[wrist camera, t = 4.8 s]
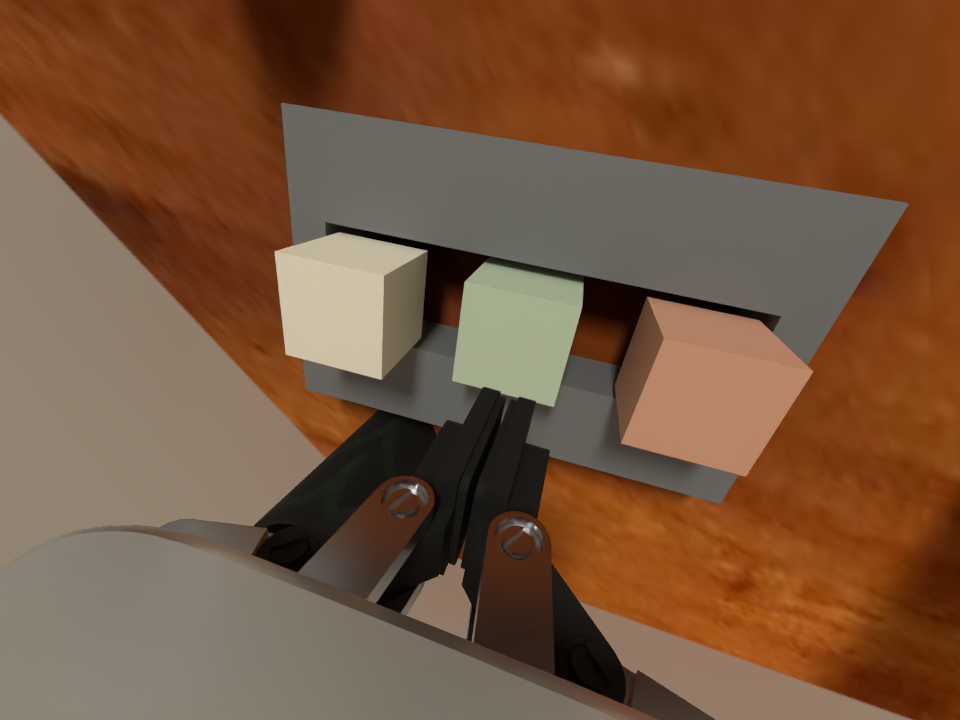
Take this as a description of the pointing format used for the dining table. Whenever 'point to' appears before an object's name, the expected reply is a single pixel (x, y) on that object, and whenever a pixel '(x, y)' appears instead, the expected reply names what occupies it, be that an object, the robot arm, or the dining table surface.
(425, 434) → the cup
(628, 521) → the dining table surface
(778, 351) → the terracotta button
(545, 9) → the dining table surface
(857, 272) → the console
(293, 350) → the cream button
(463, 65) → the dining table surface
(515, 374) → the green button
